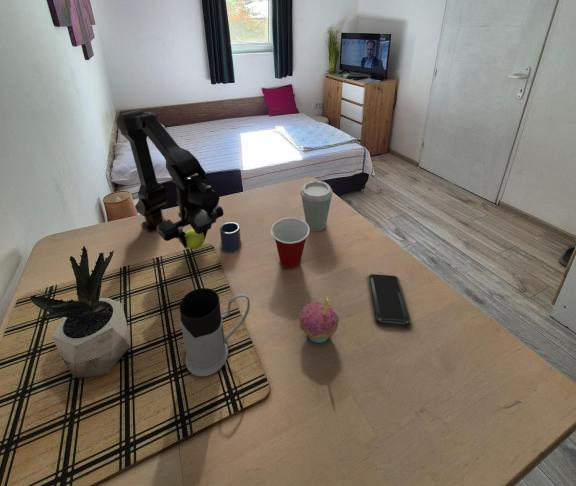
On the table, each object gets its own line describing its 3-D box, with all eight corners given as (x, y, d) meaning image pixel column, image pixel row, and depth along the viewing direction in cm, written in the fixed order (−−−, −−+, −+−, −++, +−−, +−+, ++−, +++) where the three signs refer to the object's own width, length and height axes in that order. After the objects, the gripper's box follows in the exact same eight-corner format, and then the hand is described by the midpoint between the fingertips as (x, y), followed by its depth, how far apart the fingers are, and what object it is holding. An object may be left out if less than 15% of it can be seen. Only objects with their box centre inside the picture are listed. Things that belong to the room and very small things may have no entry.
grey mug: (183, 345, 70) (173, 293, 64) (246, 323, 76) (242, 273, 70) (188, 383, 63) (178, 328, 57) (257, 356, 68) (255, 303, 62)
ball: (181, 246, 99) (178, 230, 96) (199, 238, 103) (196, 222, 100) (191, 256, 95) (188, 239, 92) (209, 246, 99) (207, 230, 96)
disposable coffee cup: (332, 235, 106) (335, 195, 100) (299, 235, 106) (300, 195, 100) (329, 217, 116) (331, 179, 110) (299, 217, 116) (299, 179, 110)
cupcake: (340, 324, 75) (343, 284, 71) (332, 357, 68) (335, 315, 63) (304, 314, 78) (305, 275, 73) (293, 344, 71) (294, 304, 66)
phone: (376, 320, 75) (368, 273, 89) (376, 323, 75) (368, 276, 89) (411, 323, 74) (398, 275, 88) (410, 326, 75) (397, 279, 88)
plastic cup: (265, 269, 92) (264, 234, 87) (280, 246, 101) (280, 214, 96) (301, 280, 88) (302, 244, 83) (313, 255, 97) (314, 222, 92)
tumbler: (218, 246, 101) (216, 227, 98) (233, 238, 105) (232, 219, 102) (229, 255, 97) (227, 235, 95) (244, 246, 101) (243, 227, 98)
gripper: (170, 223, 81) (178, 272, 87) (232, 197, 93) (235, 241, 99) (151, 206, 88) (160, 252, 94) (211, 184, 100) (215, 226, 106)
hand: (194, 243), depth 98 cm, fingers closed on ball, 6 cm apart
